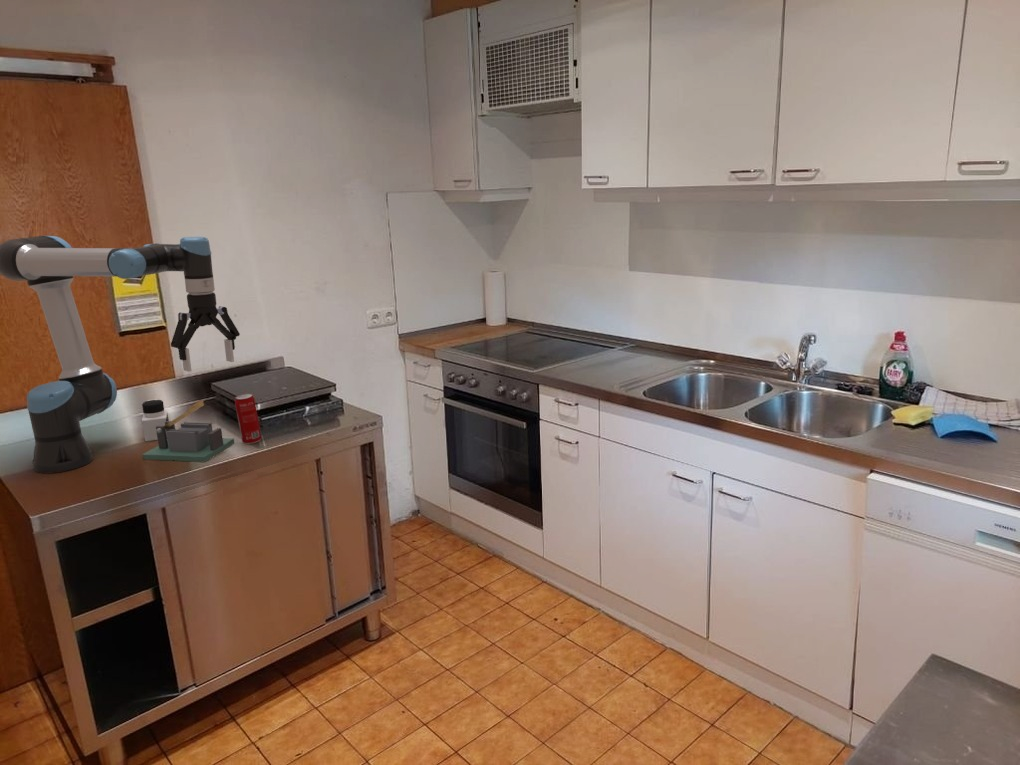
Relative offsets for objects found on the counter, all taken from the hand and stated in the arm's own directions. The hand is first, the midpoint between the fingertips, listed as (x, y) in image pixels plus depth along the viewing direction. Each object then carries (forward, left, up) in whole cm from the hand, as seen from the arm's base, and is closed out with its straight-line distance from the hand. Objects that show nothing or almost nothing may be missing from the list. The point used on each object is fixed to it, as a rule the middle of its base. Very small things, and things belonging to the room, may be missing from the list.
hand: (209, 366), depth 215 cm
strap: (-11, +1, -16) cm, 20 cm away
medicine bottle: (-29, +12, -27) cm, 41 cm away
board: (-11, +1, -27) cm, 29 cm away
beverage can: (+4, +11, -27) cm, 29 cm away
